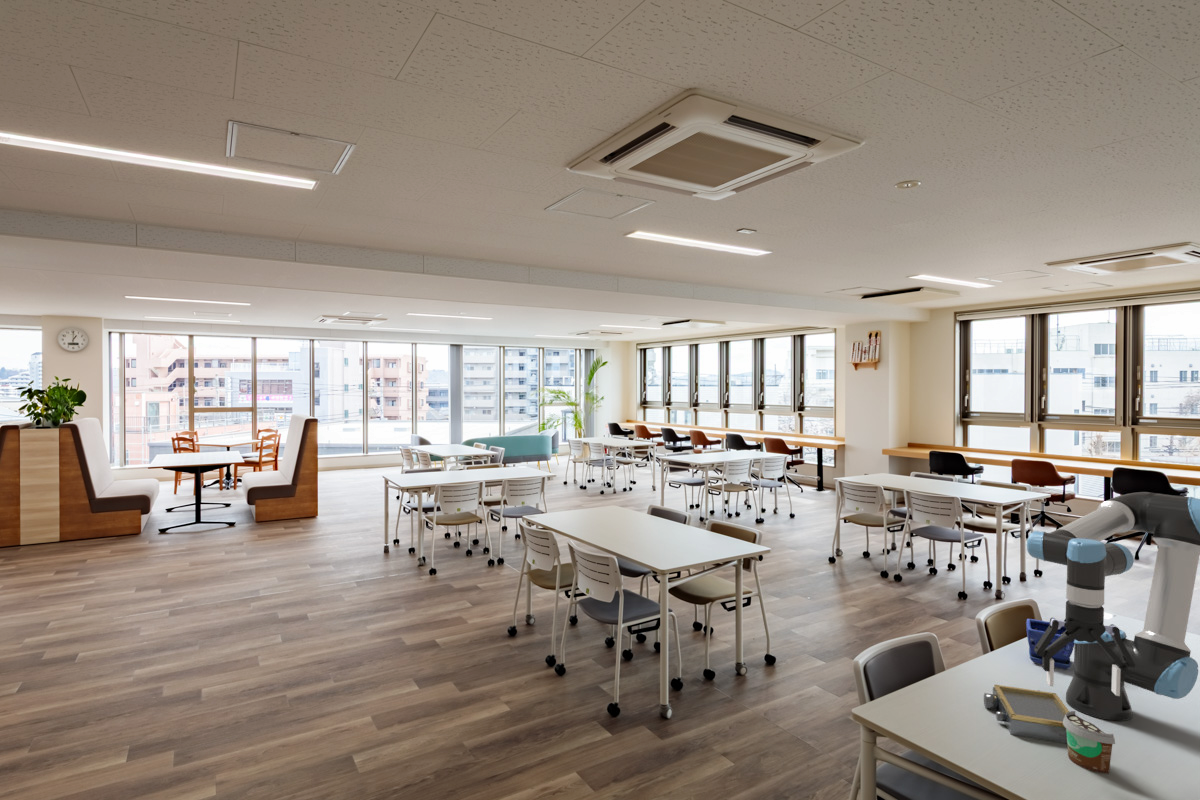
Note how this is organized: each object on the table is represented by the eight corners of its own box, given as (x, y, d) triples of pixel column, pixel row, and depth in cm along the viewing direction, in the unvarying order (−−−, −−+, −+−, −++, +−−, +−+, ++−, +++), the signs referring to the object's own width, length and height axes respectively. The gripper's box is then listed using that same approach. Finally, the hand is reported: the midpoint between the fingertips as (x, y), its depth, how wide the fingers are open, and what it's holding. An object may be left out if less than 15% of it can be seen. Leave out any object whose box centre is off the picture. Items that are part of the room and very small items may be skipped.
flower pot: (1071, 659, 222) (1072, 625, 222) (1074, 673, 211) (1075, 637, 211) (1025, 651, 230) (1026, 617, 229) (1026, 664, 218) (1026, 628, 218)
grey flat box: (1056, 710, 187) (1056, 692, 186) (1081, 746, 168) (1082, 726, 168) (980, 698, 193) (981, 682, 193) (997, 732, 174) (998, 713, 174)
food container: (1049, 749, 166) (1050, 710, 166) (1072, 748, 167) (1073, 709, 166) (1090, 777, 154) (1091, 736, 154) (1114, 777, 154) (1115, 735, 154)
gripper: (1139, 604, 159) (1137, 690, 159) (1021, 592, 167) (1019, 674, 168) (1154, 614, 152) (1151, 704, 152) (1030, 601, 160) (1027, 686, 160)
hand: (1082, 688), depth 160 cm, fingers open, 13 cm apart
